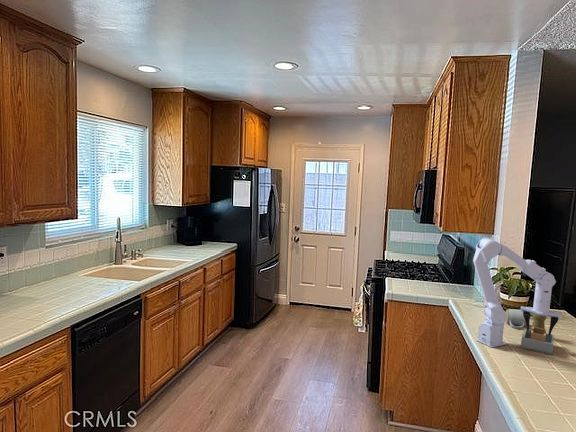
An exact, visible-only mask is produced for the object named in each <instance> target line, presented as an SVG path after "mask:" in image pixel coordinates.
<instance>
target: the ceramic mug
mask: <svg viewBox="0 0 576 432" xmlns="http://www.w3.org/2000/svg"><path fill="white" fill-rule="evenodd" d="M520 310H521V309H515V308H512V309H511V308H508V309H506V310H505V313H506V315H507V320H506V321H505V322H506V324H507V325H510V327H511V328H513V329H515V330H521V329H523V328H524V327H527V326H526V321H525V318H524V316H523V312H520Z"/></svg>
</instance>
